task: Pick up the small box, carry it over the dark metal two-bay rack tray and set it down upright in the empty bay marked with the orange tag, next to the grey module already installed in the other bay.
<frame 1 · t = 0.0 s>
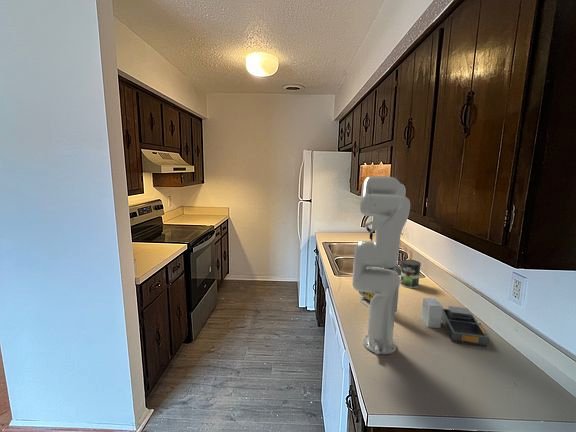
hand: (381, 241, 157), 31 cm above the worktop, fingers open, 9 cm apart
small box: (430, 323, 137), on the worktop
rack: (461, 330, 132), on the worktop
network device: (375, 306, 153), on the worktop
installed module: (458, 324, 137), resting on rack
coffee can: (409, 285, 180), on the worktop
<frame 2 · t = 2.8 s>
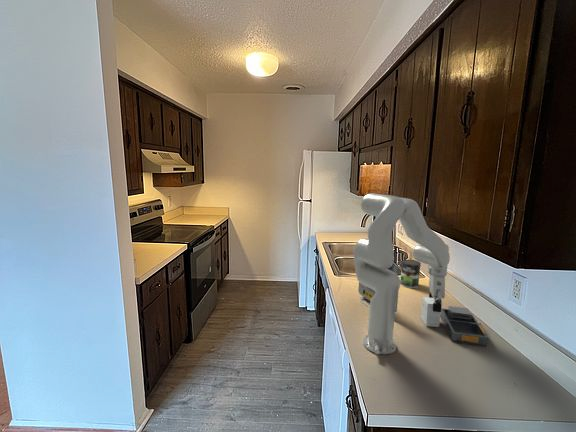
hand: (434, 306, 136), 8 cm above the worktop, fingers open, 9 cm apart
small box: (429, 323, 137), on the worktop, touching gripper
everything else where it was.
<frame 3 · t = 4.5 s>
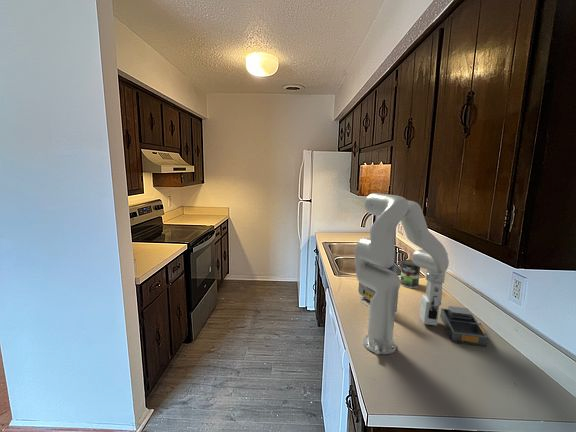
hand: (430, 313, 136), 5 cm above the worktop, fingers closed on small box, 8 cm apart
small box: (427, 321, 136), point 1 cm above the worktop, touching gripper
everything else where it was.
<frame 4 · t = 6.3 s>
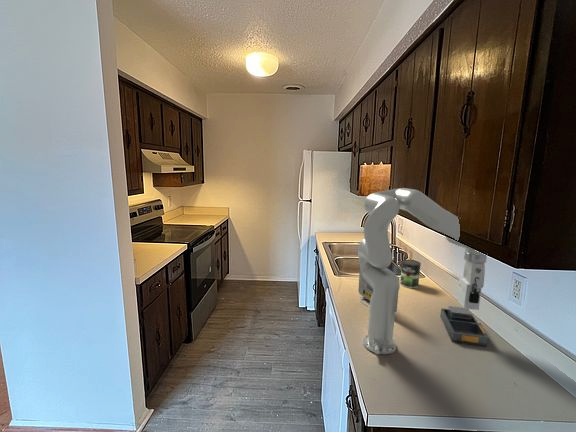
hand: (469, 297, 124), 18 cm above the worktop, fingers closed on small box, 8 cm apart
small box: (467, 305, 124), point 14 cm above the worktop, touching gripper
everything else where it was.
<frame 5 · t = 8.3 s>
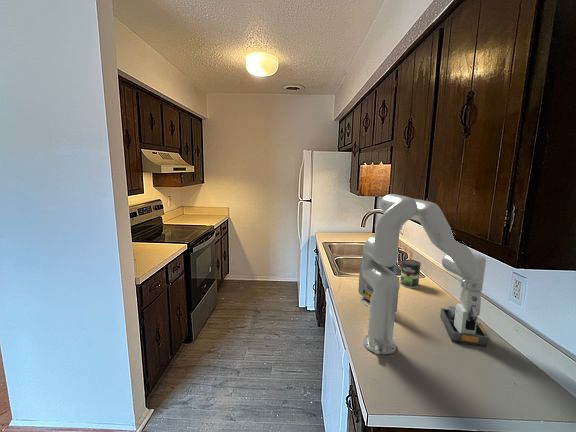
hand: (466, 323, 126), 6 cm above the worktop, fingers closed on small box, 8 cm apart
small box: (463, 331, 127), point 2 cm above the worktop, touching gripper
everything else where it was.
when the fingers open (5 cm above the worktop, at t = 9.1 s): small box drops 1 cm, resting on rack.
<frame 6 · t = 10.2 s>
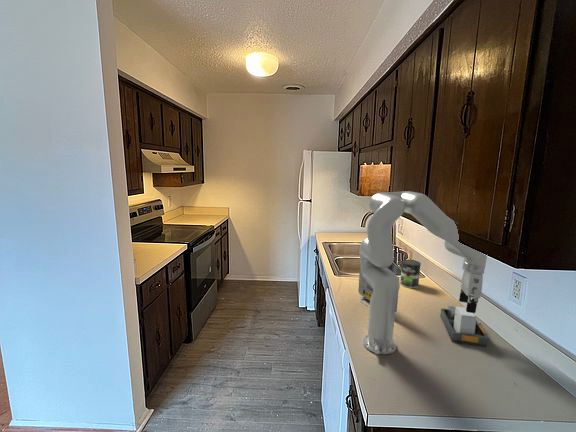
hand: (466, 306, 124), 14 cm above the worktop, fingers open, 9 cm apart
small box: (462, 334, 127), point 1 cm above the worktop, touching rack
everything else where it was.
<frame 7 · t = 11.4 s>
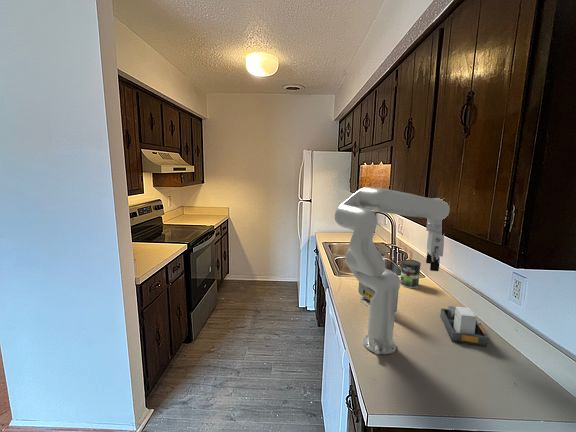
hand: (432, 266, 129), 28 cm above the worktop, fingers open, 9 cm apart
nothing on the worktop moved.
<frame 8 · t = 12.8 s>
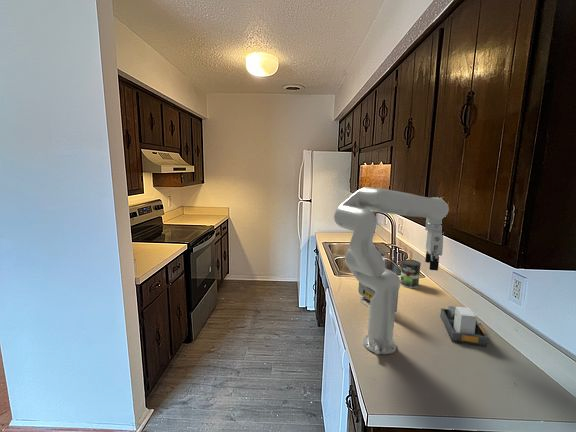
hand: (431, 266, 129), 28 cm above the worktop, fingers open, 9 cm apart
nothing on the worktop moved.
at the end: small box 0.8 cm from the target spot on the rack, point 0.6 cm above the rack's base; small box tilted 0°; the gripper is holding nothing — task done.
